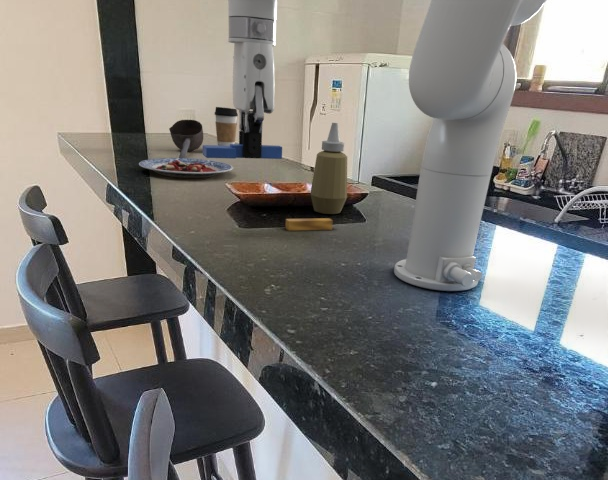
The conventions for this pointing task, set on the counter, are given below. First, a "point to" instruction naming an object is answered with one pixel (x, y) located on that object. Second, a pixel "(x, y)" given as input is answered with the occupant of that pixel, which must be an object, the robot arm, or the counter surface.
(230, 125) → the coffee cup
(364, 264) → the counter surface
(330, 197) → the squeeze bottle
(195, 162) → the ceramic plate
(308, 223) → the fry
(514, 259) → the counter surface
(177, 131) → the ladle
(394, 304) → the counter surface
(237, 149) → the blue l-shaped block
